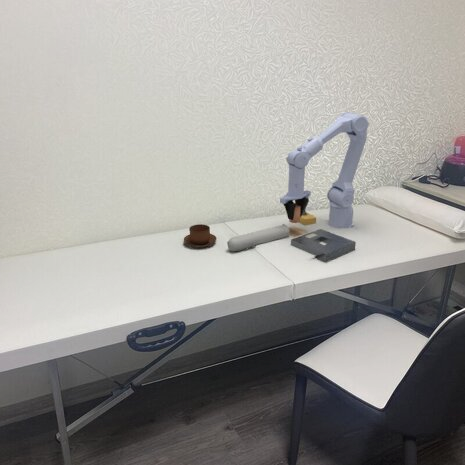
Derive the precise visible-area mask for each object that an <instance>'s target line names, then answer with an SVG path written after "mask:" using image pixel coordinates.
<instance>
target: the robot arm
mask: <svg viewBox="0 0 465 465" xmlns="http://www.w3.org/2000/svg"><path fill="white" fill-rule="evenodd" d="M369 124H370V123H369V121H368V119H367V117H366V115H363V114H355V113H351V112H343V113H342V114H341V115H339V116H338V117H337V118H336V119H335V121H334V122H333V123H332V124H331V125H330V126H329V127H327V128H326V129H325V130H324V131H322V133H320V135H318V136H312V137H311V136H310V137H308V138H306V139H307V141H305V142H304V143H302V145H299V146H297V149H293V150H291V151H290V152H288V154H287V157H286V158H285V159H286V162H287V164H288V186H287V187H288V190H287V192H286V194H285V195H283V196H281V197H279V203H280V204H282V205H283V206H284V209H285V213H286V216H287V218H288V220H289V219H290V220H293V218H294V210H295V207H296V205H300V206H301V208H300V217H301V216H302V213H303V210H304V208H305V206H306V204H307V202H308V199H307V198H306V197H307V196H308V198H309V197H311V195H312V192H311V190H305V177H306V176H305V173H306V167H307V166H308V164H309V163H310V162H309V161H310V160H311V159H312V158H313V157H315V155H317V154H318V153H320V152H321V151H322V150H323V148H324V145H325V144H326V143H327V142H329V141H331V140H332V139H333V138H335V137H336V136H338V135H339V134H341V133H346V135H347V136H348V138H349V139H350V141H349V144H348V147H347V150H346V153H345V156H344V160H343V163H342V165H341V169H340V172H339V175H338V179H336V181H334V182H333V183H332V184H331V187H330V188H329V189H328V191H327V194H326V196H327V200H328V201H329V214H328V226H330V227H331V228H337V229H342V228H352V227H354V224H353V220H354V218H353V217H354V207H353V205H352V204H354V203H353V202H354V201H355V199H354V197H355V196H354V195H355V188H354V186H353V181H354V178H355V175H356V173H357V169H358V166H359V163H360V160H361V158H362V154H363V151H364V148H365V146H366V143H367V138H368V135H367V134H368V133H367V132H368V128H369ZM308 203H309V202H308ZM307 205H308V204H307Z"/></svg>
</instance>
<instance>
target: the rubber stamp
mask: <svg viewBox="0 0 465 465" xmlns="http://www.w3.org/2000/svg"><path fill="white" fill-rule="evenodd" d="M306 198H307V199H308V202H307V204H306V206H305V208H304V210H303V213H302V216H301V217H300V222H299V224H301V225H303V226H308V225H313V224H316V223H317V216H315V215H313V214H311V213H309V212H307V211H306V209H307V206H308V204H309V201H310V198H309V197H308V196H307V197H306Z"/></svg>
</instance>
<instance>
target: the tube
mask: <svg viewBox="0 0 465 465" xmlns="http://www.w3.org/2000/svg"><path fill="white" fill-rule="evenodd" d="M289 228H290V227H288V225H287V224H284V223H282V224H281V225H277V226H273V227H270V228H266V229H261V230H257V231H253V232H249V233H244V234H241V235H237V236H233V237H230V238H229V240H228V241H227V242H226V244H227V248H228V250H229V251H230V252H234V253H235V251H237V252H240V251H243V249H244V250H247V248H248V249H251V248H254V247H257V246H258V245H262V244H265V243H269V242H272V241H277V240H281V239H284V238H289V236H290V230H289ZM239 250H240V251H239Z"/></svg>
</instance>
